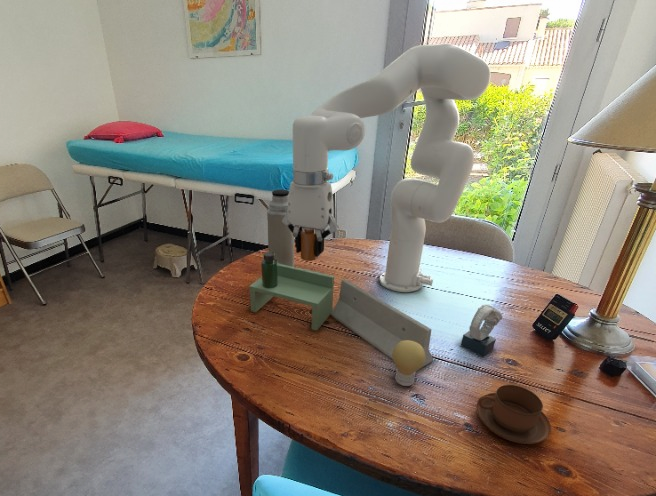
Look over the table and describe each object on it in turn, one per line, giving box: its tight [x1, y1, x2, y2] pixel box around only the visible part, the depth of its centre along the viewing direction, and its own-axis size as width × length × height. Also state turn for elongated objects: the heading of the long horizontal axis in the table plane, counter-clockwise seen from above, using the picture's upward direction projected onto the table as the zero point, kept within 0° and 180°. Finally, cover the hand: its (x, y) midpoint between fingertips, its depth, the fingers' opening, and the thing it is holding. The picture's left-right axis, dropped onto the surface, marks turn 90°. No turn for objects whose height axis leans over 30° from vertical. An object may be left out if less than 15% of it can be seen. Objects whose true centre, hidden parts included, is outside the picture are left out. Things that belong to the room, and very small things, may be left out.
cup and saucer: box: [476, 384, 552, 445], centre depth 74 cm, size 12×12×6 cm
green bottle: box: [260, 251, 278, 288], centre depth 106 cm, size 4×4×9 cm
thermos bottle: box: [266, 189, 295, 267], centre depth 122 cm, size 8×8×28 cm
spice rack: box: [249, 263, 335, 331], centre depth 108 cm, size 20×10×11 cm, turn 60°
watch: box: [460, 304, 503, 358], centre depth 93 cm, size 6×8×11 cm
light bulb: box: [392, 340, 425, 387], centre depth 83 cm, size 6×6×10 cm
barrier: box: [330, 278, 434, 368], centre depth 97 cm, size 28×7×10 cm, turn 32°
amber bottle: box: [300, 227, 319, 262], centre depth 96 cm, size 4×4×9 cm
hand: (309, 251), depth 98 cm, fingers closed on amber bottle, 4 cm apart
